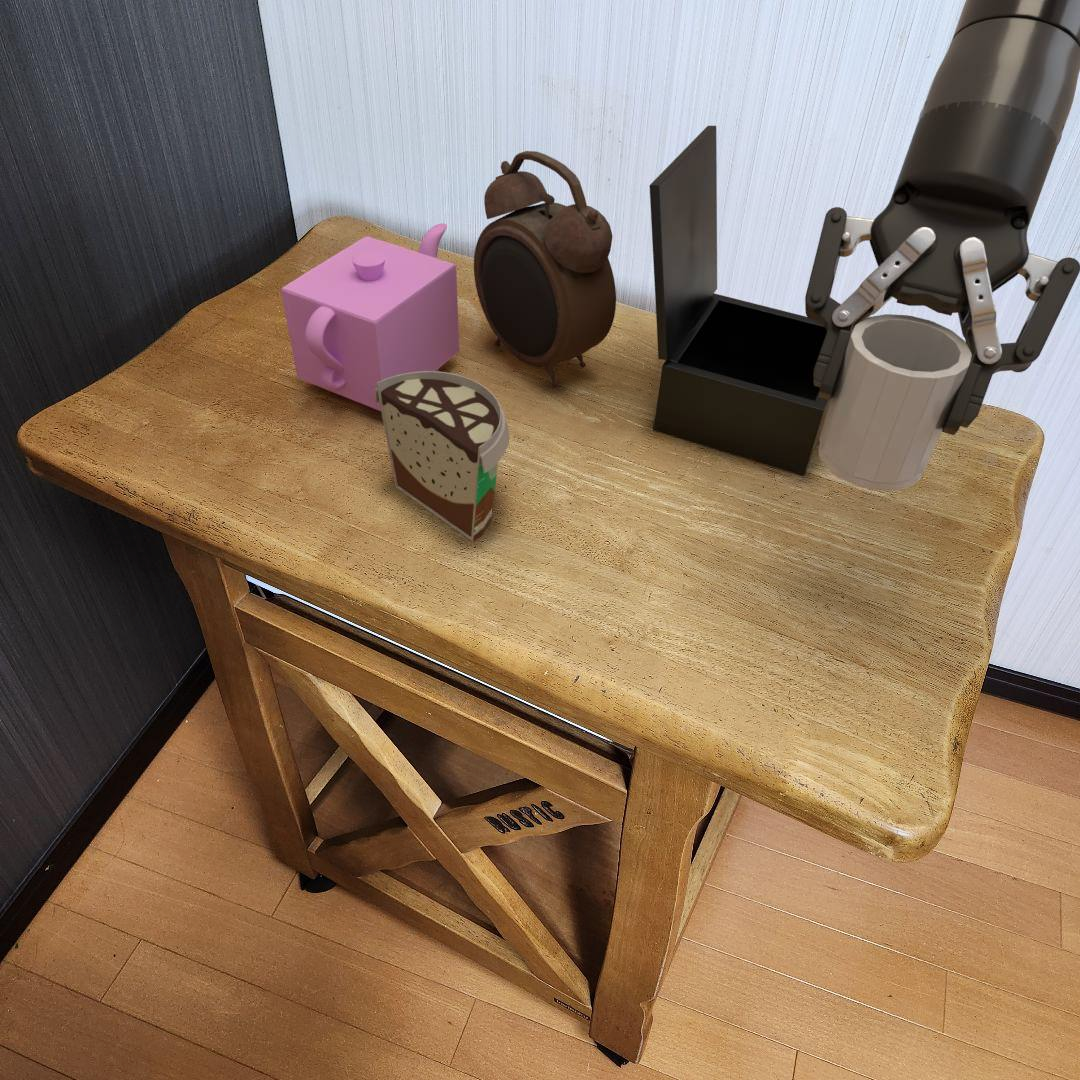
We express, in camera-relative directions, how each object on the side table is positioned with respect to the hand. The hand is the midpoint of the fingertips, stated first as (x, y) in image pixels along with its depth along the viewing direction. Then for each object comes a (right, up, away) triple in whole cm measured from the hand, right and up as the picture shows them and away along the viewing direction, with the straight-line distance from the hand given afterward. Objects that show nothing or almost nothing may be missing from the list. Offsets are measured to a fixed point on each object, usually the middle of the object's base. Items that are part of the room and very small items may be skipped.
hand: (886, 412), depth 52 cm
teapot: (-34, +9, +37) cm, 51 cm away
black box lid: (-7, +18, +25) cm, 32 cm away
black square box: (0, +5, +33) cm, 34 cm away
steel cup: (+1, -2, +4) cm, 5 cm away
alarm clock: (-20, +10, +38) cm, 45 cm away
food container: (-26, -4, +24) cm, 36 cm away
